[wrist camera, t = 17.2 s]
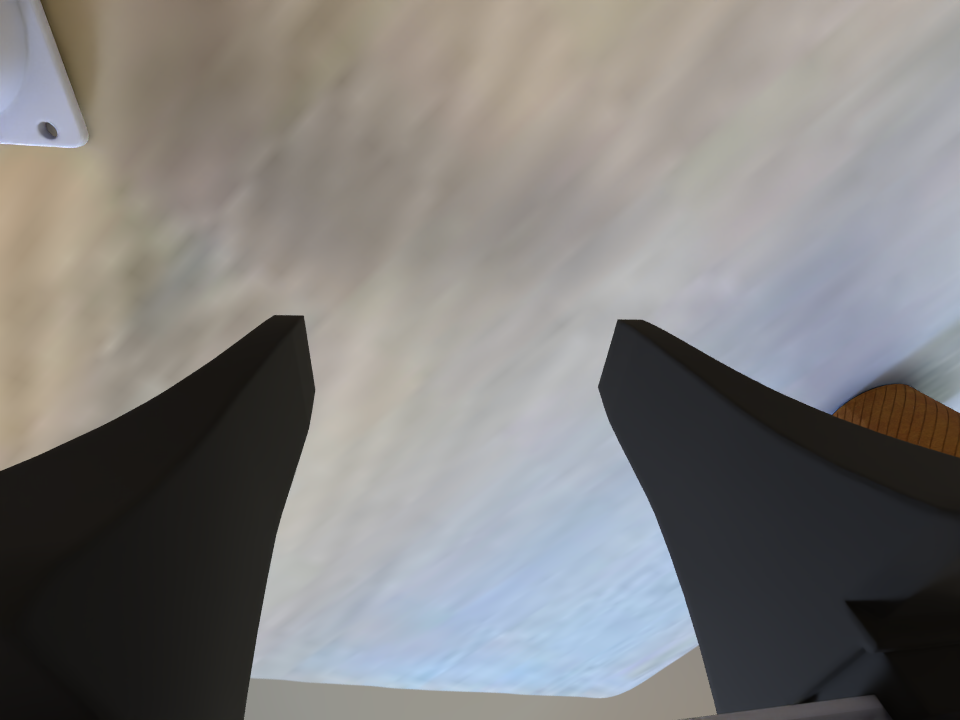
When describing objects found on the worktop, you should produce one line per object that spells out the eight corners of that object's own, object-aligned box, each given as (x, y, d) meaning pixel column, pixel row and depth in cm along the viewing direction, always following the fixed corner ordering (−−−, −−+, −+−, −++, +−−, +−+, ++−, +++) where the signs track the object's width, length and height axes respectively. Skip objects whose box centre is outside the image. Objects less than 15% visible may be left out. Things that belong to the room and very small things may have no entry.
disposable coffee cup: (778, 416, 28) (969, 615, 19) (942, 333, 26) (1259, 511, 16) (808, 489, 33) (970, 675, 24) (947, 425, 31) (1192, 603, 21)
